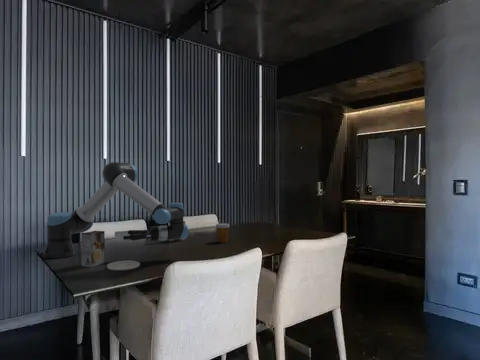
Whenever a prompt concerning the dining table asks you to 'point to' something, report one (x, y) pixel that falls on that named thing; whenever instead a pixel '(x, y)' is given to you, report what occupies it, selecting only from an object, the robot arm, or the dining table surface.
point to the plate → (123, 265)
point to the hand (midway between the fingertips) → (115, 236)
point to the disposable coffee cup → (222, 232)
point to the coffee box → (93, 248)
